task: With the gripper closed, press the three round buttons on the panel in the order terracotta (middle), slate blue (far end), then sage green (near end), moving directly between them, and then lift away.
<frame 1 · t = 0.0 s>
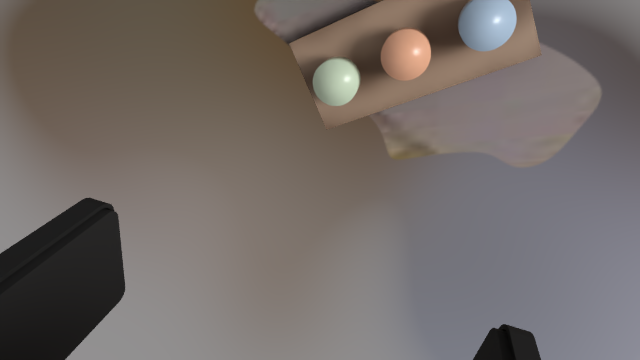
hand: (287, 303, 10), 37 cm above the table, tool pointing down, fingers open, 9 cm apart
slate blue button: (485, 22, 34), point 6 cm above the table, slide at 0.0 cm
sage green button: (336, 81, 39), point 6 cm above the table, slide at 0.0 cm
button panel: (408, 44, 41), on the table
terracotta button: (405, 54, 36), point 6 cm above the table, slide at 0.0 cm
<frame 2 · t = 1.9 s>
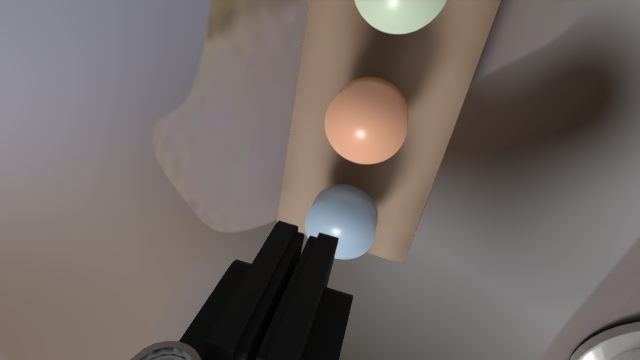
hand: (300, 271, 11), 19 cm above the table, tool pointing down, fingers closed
slate blue button: (342, 221, 25), point 6 cm above the table, slide at 0.0 cm
button panel: (378, 93, 27), on the table
terracotta button: (367, 120, 22), point 6 cm above the table, slide at 0.0 cm
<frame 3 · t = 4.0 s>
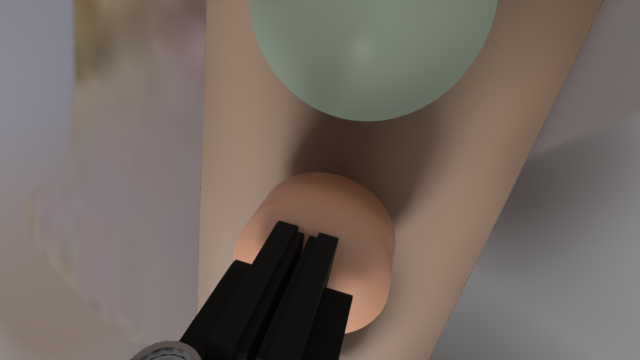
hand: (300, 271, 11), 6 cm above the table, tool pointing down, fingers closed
button panel: (349, 175, 16), on the table
terracotta button: (317, 253, 12), point 5 cm above the table, slide at 0.5 cm, touching gripper
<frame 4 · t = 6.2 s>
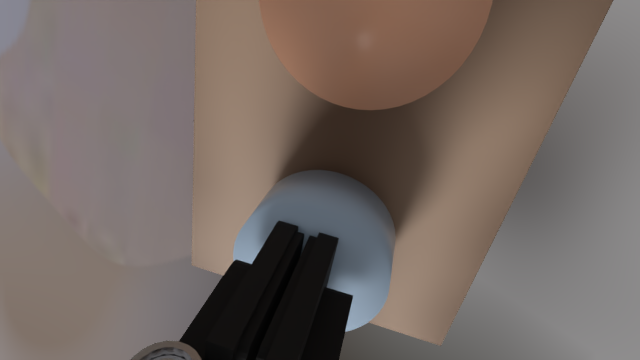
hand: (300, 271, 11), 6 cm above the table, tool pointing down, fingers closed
slate blue button: (317, 251, 12), point 5 cm above the table, slide at 1.0 cm, touching gripper
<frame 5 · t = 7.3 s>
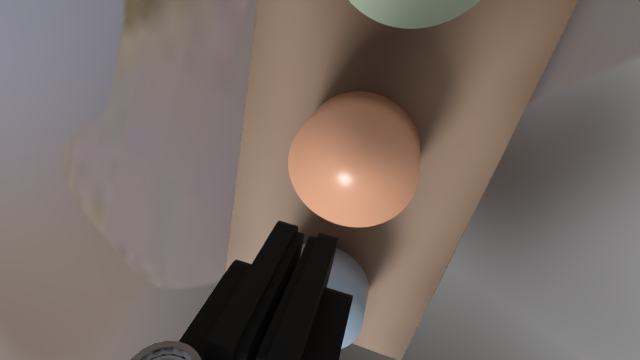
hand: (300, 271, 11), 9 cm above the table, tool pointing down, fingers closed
slate blue button: (316, 297, 18), point 5 cm above the table, slide at 1.1 cm
button panel: (372, 118, 18), on the table
terracotta button: (355, 159, 14), point 5 cm above the table, slide at 1.1 cm
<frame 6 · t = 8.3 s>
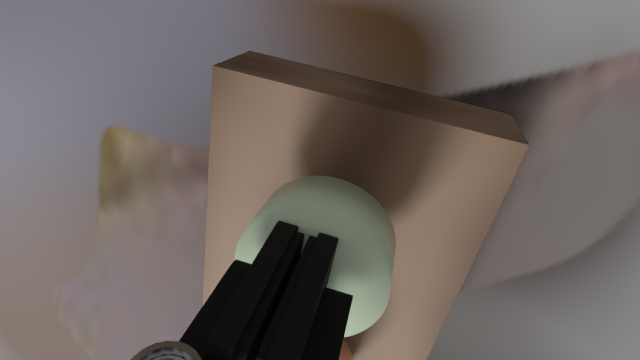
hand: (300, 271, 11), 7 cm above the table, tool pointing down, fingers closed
sage green button: (318, 257, 12), point 6 cm above the table, slide at 0.1 cm, touching gripper
button panel: (322, 293, 20), on the table
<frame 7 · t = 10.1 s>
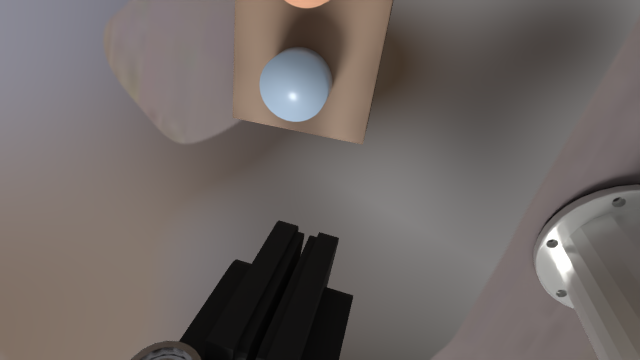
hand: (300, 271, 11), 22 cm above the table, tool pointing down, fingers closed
slate blue button: (296, 84, 26), point 5 cm above the table, slide at 1.1 cm
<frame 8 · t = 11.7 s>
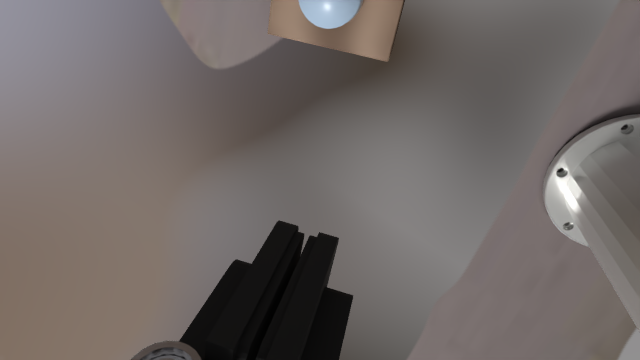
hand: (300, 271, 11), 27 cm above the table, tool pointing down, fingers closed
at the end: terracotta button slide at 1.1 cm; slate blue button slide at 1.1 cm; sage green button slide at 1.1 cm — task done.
